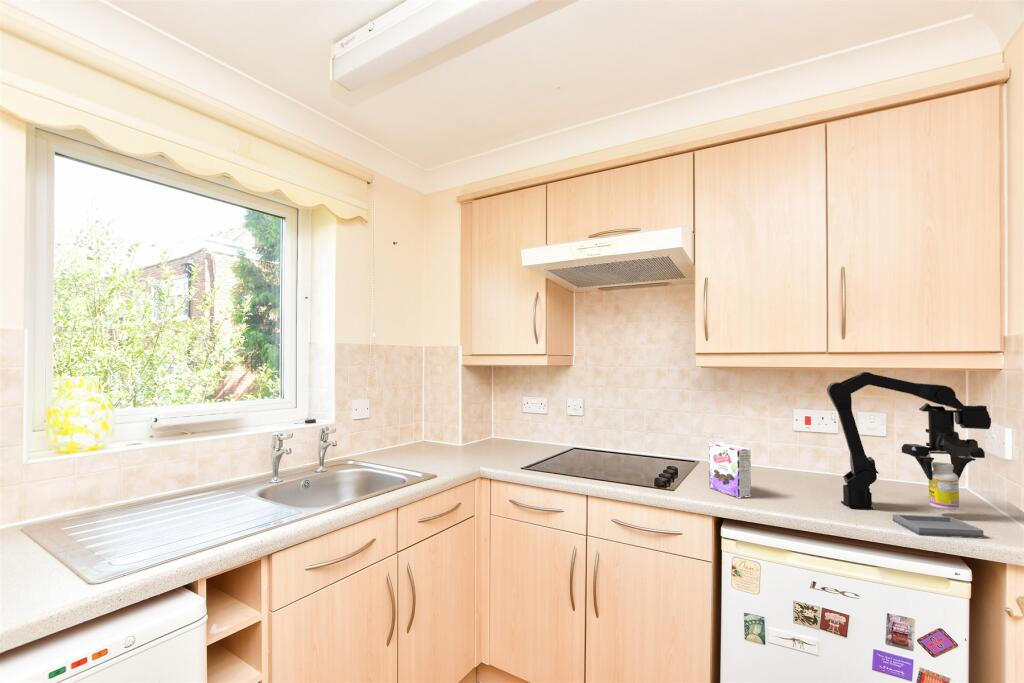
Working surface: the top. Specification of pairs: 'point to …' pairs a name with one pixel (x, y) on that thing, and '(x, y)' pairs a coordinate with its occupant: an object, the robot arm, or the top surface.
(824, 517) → the top surface
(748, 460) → the candy box
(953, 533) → the tray
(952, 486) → the supplement bottle
